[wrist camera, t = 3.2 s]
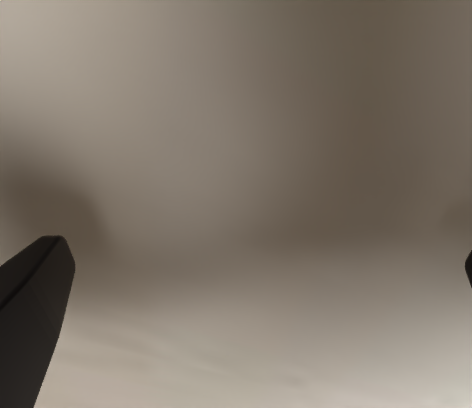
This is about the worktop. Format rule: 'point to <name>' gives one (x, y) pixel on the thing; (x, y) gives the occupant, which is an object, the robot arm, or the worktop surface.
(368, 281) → the worktop surface
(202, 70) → the worktop surface
